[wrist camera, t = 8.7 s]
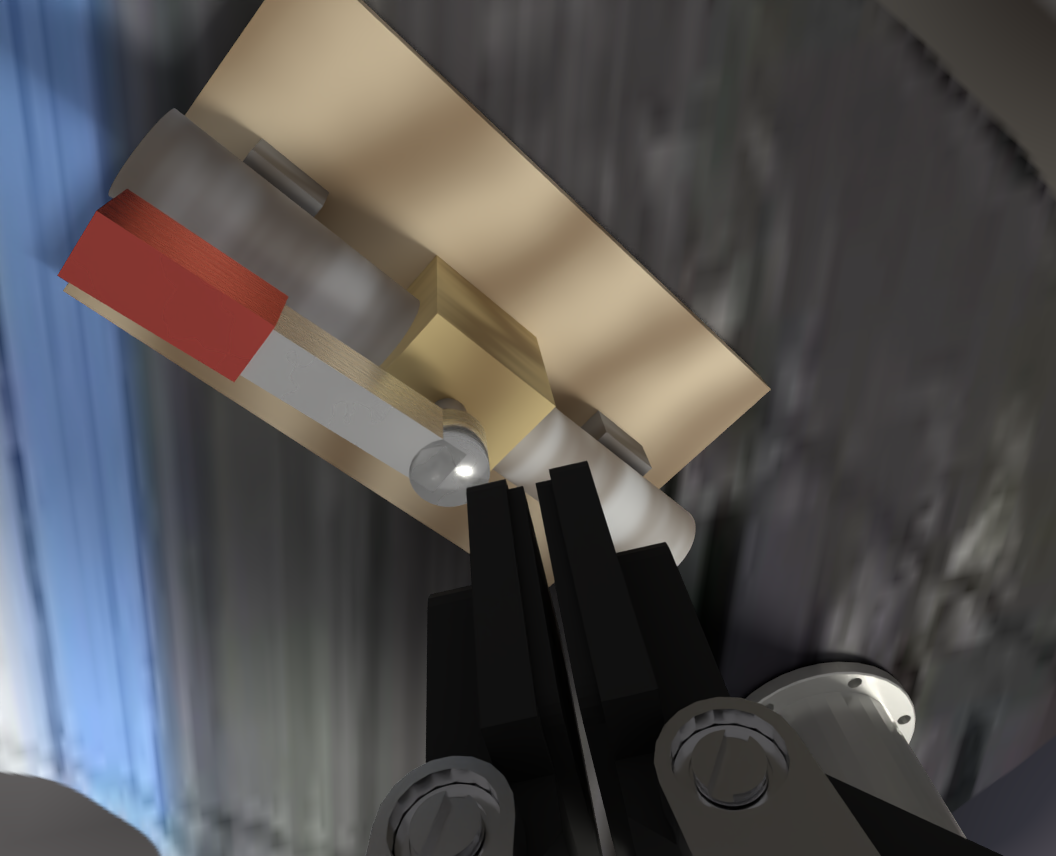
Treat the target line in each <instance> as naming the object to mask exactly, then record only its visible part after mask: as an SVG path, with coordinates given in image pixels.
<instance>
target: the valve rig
mask: <svg viewBox="0 0 1056 856" xmlns="http://www.w3.org/2000/svg"><path fill="white" fill-rule="evenodd" d="M126 189H129V190H130V191H132V192H133V193H135V194H136V195H138V196H139V197H141V198H142V199H144V200H145V201H147V202H148V203H150V204H151V205H153V206H154V207H156V208H157V209H159V210H160V211H162V212H163V213H165V214H166V215H168V216H169V217H171V218H172V219H174V220H175V221H177V222H178V223H179V224H181V225H182V226H184V227H185V228H187V229H188V230H190V231H191V232H193V233H194V234H196V235H197V236H199V237H200V238H202V239H203V240H205V241H206V242H208V243H209V244H211V245H212V246H214V247H215V248H217V249H218V250H220V251H221V252H223V253H224V254H226V255H227V256H229V257H230V258H232V259H233V260H235V261H236V262H238V263H239V264H241V265H242V266H244V267H245V268H247V269H248V270H250V271H251V272H253V273H254V274H256V275H257V276H259V277H260V278H262V279H263V280H265V281H266V282H268V283H269V284H271V285H272V286H274V287H275V288H277V289H278V290H280V291H281V292H283V293H284V294H286V295H287V296H289V297H288V299H287V301H286V304H285V305H287V306H288V307H290V308H291V309H293V310H294V311H296V312H297V313H299V314H300V315H302V316H303V317H305V318H306V319H308V320H309V321H311V322H312V323H314V324H315V325H317V326H318V327H320V328H321V329H323V330H324V331H326V332H327V333H329V334H330V335H332V336H333V337H335V338H336V339H338V340H339V341H341V342H342V343H344V344H345V345H347V346H348V347H350V348H351V349H353V350H354V351H356V352H357V353H359V354H360V355H362V356H363V357H365V358H367V359H368V360H370V361H371V362H373V363H374V364H376V365H377V366H379V367H380V368H382V369H383V370H385V371H386V372H388V373H389V374H391V375H392V376H394V377H395V378H397V379H398V380H400V381H401V382H403V383H404V384H406V385H407V386H409V387H410V388H412V389H413V390H415V391H416V392H418V393H419V394H421V395H422V396H424V397H425V398H427V399H428V400H430V401H431V402H433V403H434V404H436V405H437V406H439V407H440V408H442V409H457V410H461V411H464V412H467V413H469V414H470V415H472V416H473V417H475V418H476V419H477V420H478V421H479V422H480V423H481V425H482V426H483V428H484V431H485V434H486V439H487V448H488V457H489V466H490V478H489V482H488V483H490V482H494V481H499V480H503V479H506V481H507V485H508V488H509V489H511V488H516V487H520V486H523V487H524V491H525V495H526V498H527V502H528V506H529V511H530V515H531V519H532V523H533V527H534V531H535V535H536V539H537V543H538V547H539V551H540V555H541V559H542V563H543V567H544V571H545V575H546V579H547V583H548V587H550V586H551V585H552V584H553V583H554V582H555V581H554V576H553V571H552V566H551V560H550V555H549V550H548V545H547V540H546V535H545V530H544V525H543V520H542V514H541V509H540V504H539V499H538V494H537V489H536V483H538V482H542V481H547V480H551V478H550V474H549V469H552V468H556V467H560V466H565V465H569V464H574V463H578V462H583V461H588V464H589V467H590V470H591V474H592V477H593V480H594V483H595V487H596V490H597V493H598V496H599V499H600V503H601V506H602V509H603V512H604V515H605V519H606V522H607V525H608V528H609V532H610V535H611V538H612V541H613V544H614V548H615V551H616V553H618V552H622V551H627V550H631V549H635V548H640V547H644V546H649V545H653V544H658V543H662V542H666V543H667V545H668V546H669V548H670V551H671V553H672V555H673V558H674V560H675V563H676V565H677V566H678V565H679V564H680V563H681V562H682V560H683V559H684V558H685V557H686V555H687V553H688V552H689V550H690V548H691V546H692V543H693V540H694V537H695V521H694V519H693V517H692V515H691V514H690V513H689V512H687V511H686V510H685V509H684V508H682V507H681V506H680V505H679V504H677V503H676V502H675V501H673V500H672V499H671V498H670V497H668V496H667V495H666V494H665V493H663V492H662V491H661V490H660V488H661V487H662V486H663V485H664V484H665V483H666V482H667V481H669V480H670V479H671V478H672V477H673V476H674V475H675V474H676V473H678V472H679V471H680V470H681V469H682V468H683V467H684V466H685V465H687V464H688V463H689V462H690V461H691V460H692V459H693V458H694V457H695V456H697V455H698V454H699V453H700V452H701V451H702V450H703V449H704V448H706V447H707V446H708V445H709V444H710V443H711V442H712V441H713V440H715V439H716V438H717V437H718V436H719V435H720V434H721V433H722V432H724V431H725V430H726V429H727V428H728V427H729V426H730V425H731V424H732V423H734V422H735V421H736V420H737V419H738V418H739V417H740V416H741V415H743V414H744V413H745V412H746V411H747V410H748V409H749V408H750V407H752V406H753V405H754V404H755V403H756V402H757V401H758V400H759V399H761V398H762V397H763V396H764V395H765V394H766V393H767V392H768V391H769V390H771V389H770V388H769V387H768V385H767V384H766V383H765V382H764V380H763V379H762V378H761V377H760V375H759V374H757V373H756V372H755V371H754V370H753V369H752V368H751V367H750V366H749V365H748V364H747V363H746V362H745V361H744V360H743V359H742V358H741V357H739V356H738V355H737V354H736V353H735V352H734V351H733V350H732V349H731V348H730V347H729V346H728V345H727V344H726V343H725V342H724V341H723V340H721V339H720V338H719V337H718V336H717V335H716V334H715V333H714V332H713V331H712V330H711V329H710V328H709V327H708V326H707V325H706V324H705V323H703V322H702V321H701V320H700V319H699V318H698V317H697V316H696V315H695V314H694V313H693V312H692V311H691V310H690V309H689V308H688V307H686V306H685V305H684V304H683V303H682V302H681V301H680V300H679V299H678V298H677V297H676V296H675V295H674V294H673V293H672V292H671V291H670V290H668V289H667V288H666V287H665V286H664V285H663V284H662V283H661V282H660V281H659V280H658V279H657V278H656V277H655V276H654V275H653V274H652V273H650V272H649V271H648V270H647V269H646V268H645V267H644V266H643V265H642V264H641V263H640V262H639V261H638V260H637V259H636V258H635V257H634V256H632V255H631V254H630V253H629V252H628V251H627V250H626V249H625V248H624V247H623V246H622V245H621V244H620V243H619V242H618V241H617V240H616V239H614V238H613V237H612V236H611V235H610V234H609V233H608V232H607V231H606V230H605V229H604V228H603V227H602V226H601V225H600V224H599V223H598V222H596V221H595V220H594V219H593V218H592V217H591V216H590V215H589V214H588V213H587V212H586V211H585V210H584V209H583V208H582V207H581V206H580V205H578V204H577V203H576V202H575V201H574V200H573V199H572V198H571V197H570V196H569V195H568V194H567V193H566V192H565V191H564V190H563V189H561V188H560V187H559V186H558V185H557V184H556V183H555V182H554V181H553V180H552V179H551V178H550V177H549V176H548V175H547V174H546V173H545V172H543V171H542V170H541V169H540V168H539V167H538V166H537V165H536V164H535V163H534V162H533V161H532V160H531V159H530V158H529V157H528V156H527V155H525V154H524V153H523V152H522V151H521V150H520V149H519V148H518V147H517V146H516V145H515V144H514V143H513V142H512V141H511V140H510V139H509V138H507V137H506V136H505V135H504V134H503V133H502V132H501V131H500V130H499V129H498V128H497V127H496V126H495V125H494V124H493V123H492V122H491V121H489V120H488V119H487V118H486V117H485V116H484V115H483V114H482V113H481V112H480V111H479V110H478V109H477V108H476V107H475V106H474V105H473V104H471V103H470V102H469V101H468V100H467V99H466V98H465V97H464V96H463V95H462V94H461V93H460V92H459V91H458V90H457V89H456V88H455V87H453V86H452V85H451V84H450V83H449V82H448V81H447V80H446V79H445V78H444V77H443V76H442V75H441V74H440V73H439V72H438V71H436V70H435V69H434V68H433V67H432V66H431V65H430V64H429V63H428V62H427V61H426V60H425V59H424V58H423V57H422V56H421V55H420V54H418V53H417V52H416V51H415V50H414V49H413V48H412V47H411V46H410V45H409V44H408V43H407V42H406V41H405V40H404V39H403V38H402V37H400V36H399V35H398V34H397V33H396V32H395V31H394V30H393V29H392V28H391V27H390V26H389V25H388V24H387V23H386V22H385V21H384V20H382V19H381V18H380V17H379V16H378V15H377V14H376V13H375V12H374V11H373V10H372V9H371V8H370V7H369V6H368V5H367V4H366V3H364V2H363V1H362V0H264V2H263V3H262V5H261V6H260V8H259V9H258V10H257V12H256V13H255V15H254V16H253V18H252V19H251V21H250V22H249V23H248V25H247V26H246V28H245V29H244V31H243V32H242V33H241V35H240V36H239V38H238V39H237V41H236V42H235V44H234V45H233V46H232V48H231V49H230V51H229V52H228V54H227V55H226V57H225V58H224V59H223V61H222V62H221V64H220V65H219V67H218V68H217V70H216V71H215V72H214V74H213V75H212V77H211V78H210V80H209V81H208V83H207V84H206V85H205V87H204V88H203V90H202V91H201V93H200V94H199V95H198V97H197V98H196V100H195V101H194V103H193V104H192V106H191V107H190V108H189V110H188V111H187V113H186V114H185V116H184V115H183V114H182V113H180V112H179V111H178V110H177V109H175V108H174V109H172V110H170V111H169V112H168V113H166V114H165V115H164V116H163V117H162V118H161V119H160V120H159V121H158V122H157V123H156V124H155V126H154V127H153V128H152V129H151V130H150V131H149V132H148V134H147V135H146V136H145V137H144V138H143V140H142V141H141V142H140V144H139V145H138V146H137V147H136V149H135V150H134V151H133V153H132V154H131V156H130V157H129V158H128V160H127V161H126V163H125V164H124V166H123V167H122V169H121V170H120V172H119V173H118V175H117V177H116V178H115V180H114V182H113V184H112V186H111V188H110V190H109V196H110V197H112V198H115V197H116V196H118V195H119V194H120V193H122V192H123V191H124V190H126ZM63 291H64V292H66V293H67V294H69V295H70V296H72V297H73V298H75V299H76V300H78V301H80V302H81V303H83V304H84V305H86V306H87V307H89V308H90V309H92V310H93V311H95V312H97V313H98V314H100V315H101V316H103V317H104V318H106V319H107V320H109V321H110V322H112V323H114V324H115V325H117V326H118V327H120V328H121V329H123V330H124V331H126V332H127V333H129V334H131V335H132V336H134V337H135V338H137V339H138V340H140V341H141V342H143V343H145V344H146V345H148V346H149V347H151V348H152V349H154V350H155V351H157V352H158V353H160V354H162V355H163V356H165V357H166V358H168V359H169V360H171V361H172V362H174V363H175V364H177V365H179V366H180V367H182V368H183V369H185V370H186V371H188V372H189V373H191V374H192V375H194V376H196V377H197V378H199V379H200V380H202V381H203V382H205V383H206V384H208V385H210V386H211V387H213V388H214V389H216V390H217V391H219V392H220V393H222V394H223V395H225V396H227V397H228V398H230V399H231V400H233V401H234V402H236V403H237V404H239V405H240V406H242V407H244V408H245V409H247V410H248V411H250V412H251V413H253V414H254V415H256V416H257V417H259V418H261V419H262V420H264V421H265V422H267V423H268V424H270V425H271V426H273V427H274V428H276V429H278V430H279V431H281V432H282V433H284V434H285V435H287V436H288V437H290V438H292V439H293V440H295V441H296V442H298V443H299V444H301V445H302V446H304V447H305V448H307V449H309V450H310V451H312V452H313V453H315V454H316V455H318V456H319V457H321V458H322V459H324V460H326V461H327V462H329V463H330V464H332V465H333V466H335V467H336V468H338V469H339V470H341V471H343V472H344V473H346V474H347V475H349V476H350V477H352V478H353V479H355V480H357V481H358V482H360V483H361V484H363V485H364V486H366V487H367V488H369V489H370V490H372V491H374V492H375V493H377V494H378V495H380V496H381V497H383V498H384V499H386V500H387V501H389V502H391V503H392V504H394V505H395V506H397V507H398V508H400V509H401V510H403V511H404V512H406V513H408V514H409V515H411V516H412V517H414V518H415V519H417V520H418V521H420V522H422V523H423V524H425V525H426V526H428V527H429V528H431V529H432V530H434V531H435V532H437V533H439V534H440V535H442V536H443V537H445V538H446V539H448V540H449V541H451V542H452V543H454V544H456V545H457V546H459V547H460V548H462V549H463V550H465V551H466V552H468V553H469V554H470V547H469V530H468V513H467V503H466V504H464V505H460V506H455V507H443V506H437V505H434V504H431V503H429V502H427V501H425V500H424V499H422V498H421V497H420V496H419V495H418V494H417V493H416V492H415V491H414V489H413V488H412V485H411V483H410V479H409V478H408V477H407V476H405V475H403V474H402V473H400V472H398V471H397V470H395V469H393V468H392V467H390V466H389V465H387V464H385V463H384V462H382V461H380V460H379V459H377V458H375V457H374V456H372V455H370V454H369V453H367V452H366V451H364V450H362V449H361V448H359V447H357V446H356V445H354V444H352V443H351V442H349V441H348V440H346V439H344V438H343V437H341V436H339V435H338V434H336V433H334V432H333V431H331V430H329V429H328V428H326V427H325V426H323V425H321V424H320V423H318V422H316V421H315V420H313V419H311V418H310V417H308V416H307V415H305V414H303V413H302V412H300V411H298V410H297V409H295V408H293V407H292V406H290V405H288V404H287V403H285V402H284V401H282V400H280V399H279V398H277V397H275V396H274V395H272V394H270V393H269V392H267V391H266V390H264V389H262V388H261V387H259V386H257V385H256V384H254V383H252V382H251V381H249V380H247V379H246V378H244V377H243V376H241V375H239V377H238V378H237V379H236V381H235V382H233V381H231V380H229V379H228V378H226V377H224V376H223V375H221V374H219V373H218V372H216V371H214V370H213V369H211V368H209V367H208V366H206V365H205V364H203V363H201V362H200V361H198V360H196V359H195V358H193V357H191V356H190V355H188V354H186V353H185V352H183V351H181V350H180V349H178V348H176V347H175V346H173V345H171V344H170V343H168V342H166V341H165V340H163V339H161V338H160V337H158V336H156V335H155V334H153V333H152V332H150V331H148V330H147V329H145V328H143V327H142V326H140V325H138V324H137V323H135V322H133V321H132V320H130V319H128V318H127V317H125V316H123V315H122V314H120V313H118V312H117V311H115V310H113V309H112V308H110V307H108V306H107V305H105V304H103V303H102V302H100V301H99V300H97V299H95V298H94V297H92V296H90V295H89V294H87V293H85V292H84V291H82V290H80V289H79V288H77V287H75V286H74V285H72V284H70V283H68V284H67V286H66V287H65V289H64V290H63Z"/></svg>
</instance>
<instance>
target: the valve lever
mask: <svg viewBox="0 0 1056 856" xmlns="http://www.w3.org/2000/svg"><path fill="white" fill-rule="evenodd" d="M58 276H59V277H60V278H62V279H64V280H65V281H67V282H69V283H70V284H72V285H74V286H75V287H77V288H79V289H80V290H82V291H84V292H85V293H87V294H89V295H90V296H92V297H94V298H95V299H97V300H99V301H100V302H102V303H103V304H105V305H107V306H108V307H110V308H112V309H113V310H115V311H117V312H118V313H120V314H122V315H123V316H125V317H127V318H128V319H130V320H132V321H133V322H135V323H137V324H138V325H140V326H142V327H143V328H145V329H147V330H148V331H150V332H152V333H153V334H155V335H156V336H158V337H160V338H161V339H163V340H165V341H166V342H168V343H170V344H171V345H173V346H175V347H176V348H178V349H180V350H181V351H183V352H185V353H186V354H188V355H190V356H191V357H193V358H195V359H196V360H198V361H200V362H201V363H203V364H205V365H206V366H208V367H209V368H211V369H213V370H214V371H216V372H218V373H219V374H221V375H223V376H224V377H226V378H228V379H229V380H231V381H233V382H235V381H236V379H237V378H238V377H239V375H241V376H243V377H244V378H246V379H247V380H249V381H251V382H252V383H254V384H256V385H257V386H259V387H261V388H262V389H264V390H266V391H267V392H269V393H270V394H272V395H274V396H275V397H277V398H279V399H280V400H282V401H284V402H285V403H287V404H288V405H290V406H292V407H293V408H295V409H297V410H298V411H300V412H302V413H303V414H305V415H307V416H308V417H310V418H311V419H313V420H315V421H316V422H318V423H320V424H321V425H323V426H325V427H326V428H328V429H329V430H331V431H333V432H334V433H336V434H338V435H339V436H341V437H343V438H344V439H346V440H348V441H349V442H351V443H352V444H354V445H356V446H357V447H359V448H361V449H362V450H364V451H366V452H367V453H369V454H370V455H372V456H374V457H375V458H377V459H379V460H380V461H382V462H384V463H385V464H387V465H389V466H390V467H392V468H393V469H395V470H397V471H398V472H400V473H402V474H403V475H405V476H407V477H408V478H409V479H410V483H411V485H412V488H413V489H414V491H415V492H416V493H417V494H418V495H419V496H420V497H421V498H422V499H424V500H425V501H427V502H429V503H431V504H434V505H437V506H443V507H455V506H460V505H464V504H466V503H467V496H466V489H467V488H468V487H472V486H476V485H481V484H485V483H488V482H489V478H490V466H489V457H488V448H487V439H486V434H485V431H484V428H483V426H482V425H481V423H480V422H479V421H478V420H477V419H476V418H475V417H473V416H472V415H470V414H469V413H467V412H464V411H461V410H457V409H442V408H440V407H439V406H437V405H436V404H434V403H433V402H431V401H430V400H428V399H427V398H425V397H424V396H422V395H421V394H419V393H418V392H416V391H415V390H413V389H412V388H410V387H409V386H407V385H406V384H404V383H403V382H401V381H400V380H398V379H397V378H395V377H394V376H392V375H391V374H389V373H388V372H386V371H385V370H383V369H382V368H380V367H379V366H377V365H376V364H374V363H373V362H371V361H370V360H368V359H367V358H365V357H363V356H362V355H360V354H359V353H357V352H356V351H354V350H353V349H351V348H350V347H348V346H347V345H345V344H344V343H342V342H341V341H339V340H338V339H336V338H335V337H333V336H332V335H330V334H329V333H327V332H326V331H324V330H323V329H321V328H320V327H318V326H317V325H315V324H314V323H312V322H311V321H309V320H308V319H306V318H305V317H303V316H302V315H300V314H299V313H297V312H296V311H294V310H293V309H291V308H290V307H288V306H287V305H285V304H286V301H287V299H288V297H289V296H287V295H286V294H284V293H283V292H281V291H280V290H278V289H277V288H275V287H274V286H272V285H271V284H269V283H268V282H266V281H265V280H263V279H262V278H260V277H259V276H257V275H256V274H254V273H253V272H251V271H250V270H248V269H247V268H245V267H244V266H242V265H241V264H239V263H238V262H236V261H235V260H233V259H232V258H230V257H229V256H227V255H226V254H224V253H223V252H221V251H220V250H218V249H217V248H215V247H214V246H212V245H211V244H209V243H208V242H206V241H205V240H203V239H202V238H200V237H199V236H197V235H196V234H194V233H193V232H191V231H190V230H188V229H187V228H185V227H184V226H182V225H181V224H179V223H178V222H177V221H175V220H174V219H172V218H171V217H169V216H168V215H166V214H165V213H163V212H162V211H160V210H159V209H157V208H156V207H154V206H153V205H151V204H150V203H148V202H147V201H145V200H144V199H142V198H141V197H139V196H138V195H136V194H135V193H133V192H132V191H130V190H129V189H126V190H124V191H123V192H122V193H120V194H119V195H118V196H116V197H115V198H113V199H112V200H111V201H109V202H108V203H107V204H105V205H104V206H102V207H101V208H100V209H98V210H97V211H96V212H95V214H94V216H93V217H92V219H91V221H90V222H89V224H88V226H87V227H86V229H85V231H84V232H83V234H82V236H81V237H80V239H79V241H78V242H77V244H76V246H75V247H74V249H73V251H72V252H71V254H70V256H69V257H68V259H67V261H66V262H65V264H64V266H63V267H62V269H61V271H60V272H59V274H58Z"/></svg>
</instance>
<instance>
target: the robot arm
mask: <svg viewBox="0 0 1056 856" xmlns="http://www.w3.org/2000/svg"><path fill="white" fill-rule="evenodd" d="M549 474H550V478H551V480H547V481H542V482H538V483H536V489H537V494H538V499H539V504H540V509H541V514H542V520H543V525H544V530H545V535H546V540H547V545H548V550H549V555H550V560H551V566H552V571H553V576H554V581H555V586H556V591H557V596H558V601H559V606H560V612H561V617H562V622H563V627H564V632H565V637H566V642H567V647H568V652H569V657H570V663H571V668H572V673H573V678H574V683H575V688H576V693H577V697H578V702H579V706H580V711H581V715H582V720H583V724H584V728H585V732H586V736H587V740H588V744H589V748H590V752H591V756H592V760H593V764H594V768H595V772H596V776H597V780H598V784H599V788H600V792H601V796H602V800H603V804H604V808H605V812H606V816H607V820H608V824H609V828H610V833H611V837H612V841H613V845H614V849H615V853H616V856H1003V855H1001V854H998V853H996V852H994V851H992V850H990V849H988V848H985V847H983V846H981V845H979V844H977V843H975V842H972V841H970V840H968V839H966V837H965V835H964V834H963V832H962V831H961V829H960V827H959V826H958V824H957V822H956V821H955V819H954V818H953V816H952V814H951V813H950V811H949V809H948V808H947V806H946V804H945V803H944V801H943V800H942V798H941V796H940V795H939V793H938V791H937V790H936V788H935V786H934V785H933V783H932V782H931V780H930V778H929V777H928V775H927V773H926V772H925V770H924V768H923V767H922V765H921V764H920V762H919V760H918V759H917V757H916V755H915V754H914V752H913V750H912V749H911V747H910V746H909V742H910V740H911V737H912V735H913V732H914V728H915V720H916V716H915V710H914V705H913V703H912V701H911V699H910V698H909V696H908V694H907V693H906V691H905V690H904V688H903V687H902V686H901V684H900V683H899V681H898V680H896V679H895V678H894V677H893V676H891V675H890V674H889V673H887V672H885V671H883V670H881V669H879V668H876V667H874V666H870V665H866V664H861V663H854V662H830V663H820V664H815V665H811V666H806V667H802V668H799V669H796V670H794V671H791V672H788V673H785V674H783V675H781V676H779V677H777V678H775V679H773V680H771V681H769V682H767V683H765V684H764V685H763V686H761V687H760V688H758V689H757V690H755V691H754V692H752V693H751V694H750V695H749V696H748V697H747V698H746V699H743V698H735V697H730V696H729V693H728V691H727V688H726V686H725V683H724V681H723V678H722V676H721V673H720V671H719V668H718V666H717V664H716V661H715V659H714V656H713V654H712V651H711V649H710V646H709V644H708V641H707V639H706V636H705V634H704V632H703V629H702V627H701V624H700V622H699V619H698V617H697V614H696V612H695V609H694V607H693V604H692V602H691V600H690V597H689V595H688V592H687V590H686V587H685V585H684V582H683V580H682V577H681V575H680V572H679V570H678V568H677V565H676V563H675V560H674V558H673V555H672V553H671V551H670V548H669V546H668V545H667V543H666V542H662V543H658V544H653V545H649V546H644V547H640V548H635V549H631V550H627V551H622V552H618V553H616V551H615V548H614V544H613V541H612V538H611V535H610V532H609V528H608V525H607V522H606V519H605V515H604V512H603V509H602V506H601V503H600V499H599V496H598V493H597V490H596V487H595V483H594V480H593V477H592V474H591V470H590V467H589V464H588V461H583V462H578V463H574V464H569V465H565V466H560V467H556V468H552V469H549ZM466 496H467V513H468V530H469V547H470V563H471V580H472V585H471V586H466V587H462V588H457V589H453V590H449V591H444V592H440V593H435V594H431V595H430V596H429V599H428V624H427V710H426V763H425V764H423V765H422V766H420V767H418V768H416V769H414V770H412V771H410V772H409V773H408V774H407V775H406V776H405V777H403V778H402V779H401V780H400V781H399V782H398V783H396V784H395V785H394V786H393V788H392V789H391V790H390V792H389V793H388V795H387V796H386V797H385V799H384V800H383V802H382V803H381V804H380V807H379V809H378V812H377V815H376V817H375V820H374V823H373V825H372V830H371V834H370V838H369V843H368V847H367V852H366V856H603V855H602V850H601V844H600V839H599V834H598V828H597V823H596V818H595V813H594V807H593V802H592V797H591V791H590V786H589V781H588V776H587V770H586V765H585V760H584V755H583V749H582V744H581V739H580V733H579V728H578V723H577V718H576V712H575V707H574V702H573V696H572V691H571V686H570V681H569V675H568V670H567V665H566V659H565V654H564V649H563V644H562V640H561V635H560V631H559V627H558V623H557V619H556V615H555V611H554V607H553V603H552V599H551V595H550V591H549V587H548V583H547V579H546V575H545V571H544V567H543V563H542V559H541V555H540V551H539V547H538V543H537V539H536V535H535V531H534V527H533V523H532V519H531V515H530V511H529V506H528V502H527V498H526V495H525V491H524V487H523V486H520V487H516V488H511V489H509V488H508V485H507V481H506V479H503V480H499V481H494V482H490V483H485V484H481V485H476V486H472V487H468V488H467V489H466Z"/></svg>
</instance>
